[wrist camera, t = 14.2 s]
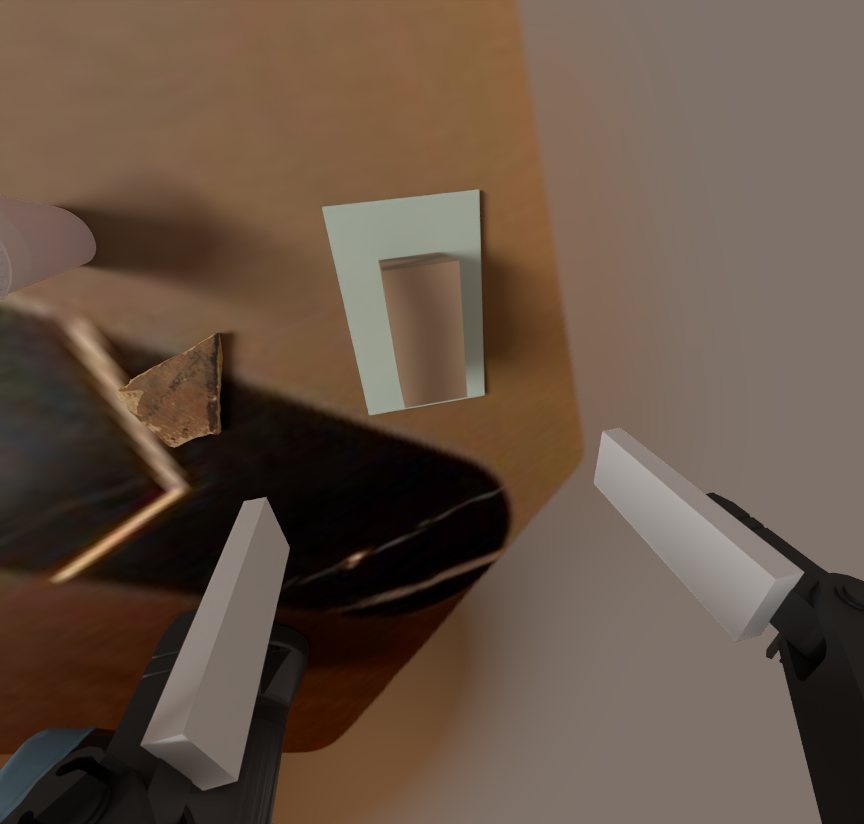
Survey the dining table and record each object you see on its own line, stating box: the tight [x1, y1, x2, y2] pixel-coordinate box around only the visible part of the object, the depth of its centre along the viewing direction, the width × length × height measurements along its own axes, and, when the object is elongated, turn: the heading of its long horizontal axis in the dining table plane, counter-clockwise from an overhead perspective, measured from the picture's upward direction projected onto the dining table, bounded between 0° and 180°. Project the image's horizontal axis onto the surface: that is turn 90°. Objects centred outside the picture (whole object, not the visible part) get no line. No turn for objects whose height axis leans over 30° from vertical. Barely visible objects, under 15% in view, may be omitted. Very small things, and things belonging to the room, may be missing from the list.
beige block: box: [378, 252, 467, 408], centre depth 27 cm, size 5×10×7 cm, turn 6°
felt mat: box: [322, 190, 485, 415], centre depth 30 cm, size 18×12×1 cm, turn 6°
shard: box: [116, 333, 223, 447], centre depth 31 cm, size 11×8×2 cm
